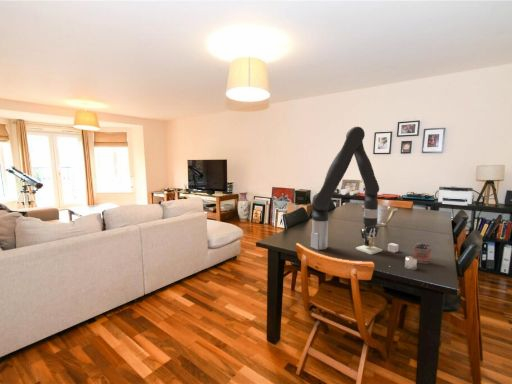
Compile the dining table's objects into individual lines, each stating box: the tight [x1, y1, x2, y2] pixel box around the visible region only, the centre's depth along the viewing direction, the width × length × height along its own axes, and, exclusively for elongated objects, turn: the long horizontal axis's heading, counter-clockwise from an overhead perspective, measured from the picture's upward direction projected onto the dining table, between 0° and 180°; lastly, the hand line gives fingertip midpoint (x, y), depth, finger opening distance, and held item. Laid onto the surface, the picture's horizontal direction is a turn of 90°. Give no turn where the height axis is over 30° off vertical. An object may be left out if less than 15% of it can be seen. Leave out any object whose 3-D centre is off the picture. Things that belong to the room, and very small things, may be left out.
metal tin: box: [404, 255, 418, 271], centre depth 124 cm, size 5×5×5 cm
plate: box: [355, 244, 383, 255], centre depth 149 cm, size 10×10×1 cm
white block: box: [387, 242, 399, 253], centre depth 147 cm, size 4×4×4 cm
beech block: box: [363, 236, 376, 247], centre depth 148 cm, size 4×4×5 cm
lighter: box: [412, 242, 433, 265], centre depth 131 cm, size 8×3×10 cm, turn 69°
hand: (369, 244), depth 148 cm, fingers closed on beech block, 4 cm apart
